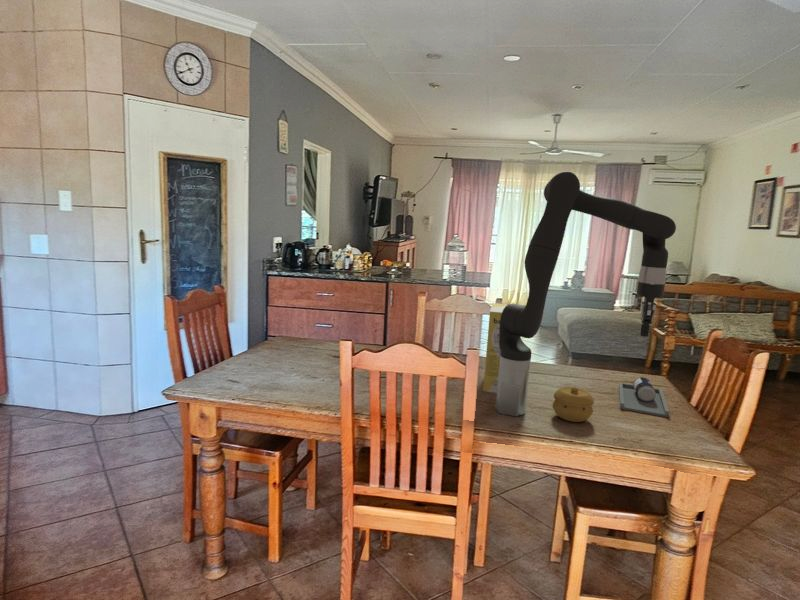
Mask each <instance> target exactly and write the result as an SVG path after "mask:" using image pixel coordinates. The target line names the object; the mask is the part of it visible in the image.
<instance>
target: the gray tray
mask: <svg viewBox="0 0 800 600" xmlns="http://www.w3.org/2000/svg"><path fill="white" fill-rule="evenodd" d="M653 388H654V390H655V392H656V396H655V398H654V399H653V400H652V401H649V402H644V401H642V400H640V399H639V397H638V395H637V393H636V391H635V389H634V386H633V383H626V382H625V383H624V382H619V383H618V397H619V398H618V399H619V409H620V410H622V411H623V410H624V411H628V412H629V411H630V412H635V413H640V414H646V415H651V416H658V417H664V418H669V415H670V410H669V408H668V405H667V401H666V398H665V395H664V392H663V389H662V388H655V387H653Z"/></svg>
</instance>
